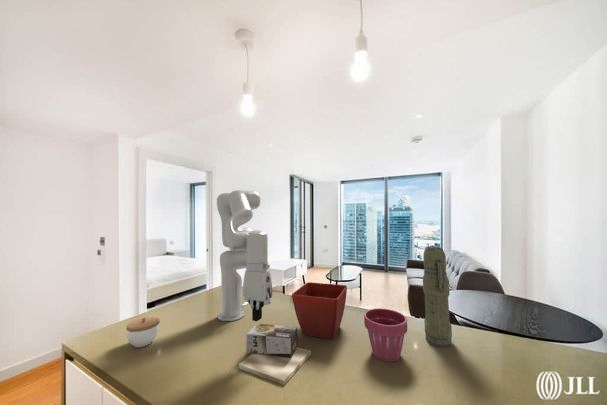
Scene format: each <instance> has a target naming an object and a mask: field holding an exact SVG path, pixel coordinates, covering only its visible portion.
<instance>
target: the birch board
mask: <svg viewBox="0 0 607 405" xmlns="http://www.w3.org/2000/svg"><path fill="white" fill-rule="evenodd" d="M311 355H312V351H311V350H310V349H309V350H308V349H305V348H301V347H298V346H297V347H296V349H295V351H294V353H293V355H292V357H291V358H288V357H280V356H272V355H265V354H256V353H251V354H250V355H249V356H247V357H246V358H245V359H244V360H243V361H241V362H240V363H239V364H238V369H240V370H242V371H245V372H247V373H251V374H253V375H256V376H258V377H261V378H264V379H266V380H269V381H272V382H274V383H277V384H280V385H282V386H285V385H286V384H287V383H288V382H289V380H290V379H291V378H292V377H293V376H294V375H295V373H297V371H298V370H299V369H300V368H301V367H302V366H303V365H304V363H305V362H306V361H307V360H308V358H309V357H310V356H311Z"/></svg>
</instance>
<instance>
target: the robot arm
mask: <svg viewBox="0 0 607 405" xmlns="http://www.w3.org/2000/svg"><path fill="white" fill-rule="evenodd" d="M260 205H261V197H260V194H259V193H258V192H257V191H256V190H242V189H241V190H238V189H236V190H232V191H231V192H224V193H220V194H219V195H218V196H217V198H216V209H217V211H218V215H219V217H220V222H221V240H222V245H223V247H226V248H228V249H229V250H226V251H222V253H221V254H220V256H219V268H220V275H221V276H220V280H221V283H220V284H221V293H220V294H221V295H220V296H221V297H220V300H221V301H220V302H221V304H220V308H221V309H220V312H219V313H218V314H217V319H218V320H219V321H221V322H231V321H232V322H233V321H237V320H240V319H242V318H243V317H245V314H246V311H244V308H247V307H248V306H249V305H250V309H251V311H252V313H251V314H252V316H251V318H252V319H251V320H252V321H253V322H258V321H260V320H261V319H262V318H263V307H264V306H268V305H270V304H271V299H272V298H273V281H272V274H271V271H270V270H269V269H270V268H271V265H270V264H269V262H268V257H269V255H268V253H269V252H268V233H267V232H265V231H261V230H259V229H257V230H253V229H252V228H248V227H240V226H242V225H245V224H248V223H249V222H250V221H251V220H252V218H253V217H254V216H253V215H254V212H253V210H257V209H258V208H259V207H260ZM244 269H246V270H245V271H244V276H243V278H242V276H241V275H240V274H239V273H238V271H237V270H244ZM242 279H243V281H242ZM242 282H243V283H242ZM242 294H243V297H244V301H245V302H243V300H242V298H243V297H242ZM242 302H243V303H242Z"/></svg>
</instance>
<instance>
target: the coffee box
mask: <svg viewBox="0 0 607 405" xmlns="http://www.w3.org/2000/svg"><path fill="white" fill-rule="evenodd" d="M298 334H299V333H298V326H292V325H291V326H289V325H279V324H264V323H256V324H255V325H253V327H252V328H251V329H250V330H249V331H247V333H246V335H245V336H246V340H245V341H246V342H245V345H246V346H245V347H246V349H245V352H246V353H250V354H253V353H256V354H265V355H272V356H280V357H288V358H291V357H292V355H293V353H294V351H295V349H296V347H298V346H299V336H298Z"/></svg>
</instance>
